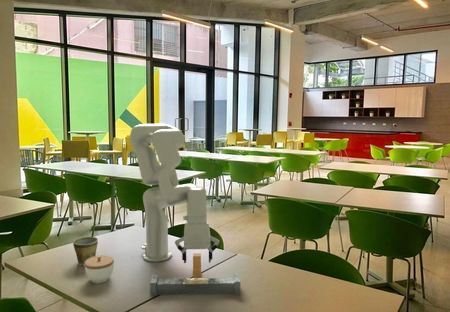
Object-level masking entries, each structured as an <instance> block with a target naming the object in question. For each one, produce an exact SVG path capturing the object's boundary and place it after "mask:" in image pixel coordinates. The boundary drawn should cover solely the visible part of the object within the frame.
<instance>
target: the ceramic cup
mask: <svg viewBox="0 0 450 312" xmlns="http://www.w3.org/2000/svg"><path fill="white" fill-rule="evenodd" d="M98 241H99V239H98V238H97V237H95V236H83V237H79V238H76V239H74V240H73V241H72V244H73V248H74V251H75V255H76V259H77V264H78V265H79V266H81V265H83V266H82V267H85V264H84V263H85V261H86V260H87V259H89V258H91V257H95V256H97V255H96V254H97V248H98V243H99V242H98Z"/></svg>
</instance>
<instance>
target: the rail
mask: <svg viewBox="0 0 450 312" xmlns="http://www.w3.org/2000/svg"><path fill="white" fill-rule="evenodd" d="M149 287H150V288H149V289H150V297H157V296H159V295H161V296H165V295H166V296H167V295H170V296H171V295H219V294H221V295H222V294H223V295H224V294H225V295H229V294H232V295H233V294H234V295H235V296H240V295H241V276H240V274H239V273H234V274H233V277H222V278H221V277H220V278H219V277H213V278H212V277H209V278H208V277H205V278H204V277H202V278H193V277H192V278H191V277H189V278H159V275H158V274H157V275H155V274H153V275H152V277H151V280H150V284H149Z"/></svg>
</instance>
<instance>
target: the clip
mask: <svg viewBox="0 0 450 312" xmlns="http://www.w3.org/2000/svg"><path fill="white" fill-rule="evenodd" d="M201 275H202V252H201V253H200V252H197V253H196V252H193V254H192V278H201V277H202V276H201Z"/></svg>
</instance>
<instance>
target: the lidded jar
mask: <svg viewBox="0 0 450 312" xmlns="http://www.w3.org/2000/svg"><path fill="white" fill-rule="evenodd" d="M84 264H85V266H84V271H85V275H86V277H87V279H89V280H90V281H91V282H92V283H93V284H101V283H103V284H104V283H105V282H108V280H109V278H110V277H111V276H112V274H113V272H114V257H112V256H110V255H96V256H95V257H91V258H89V259H87V260H86V261H85V263H84Z"/></svg>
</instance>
